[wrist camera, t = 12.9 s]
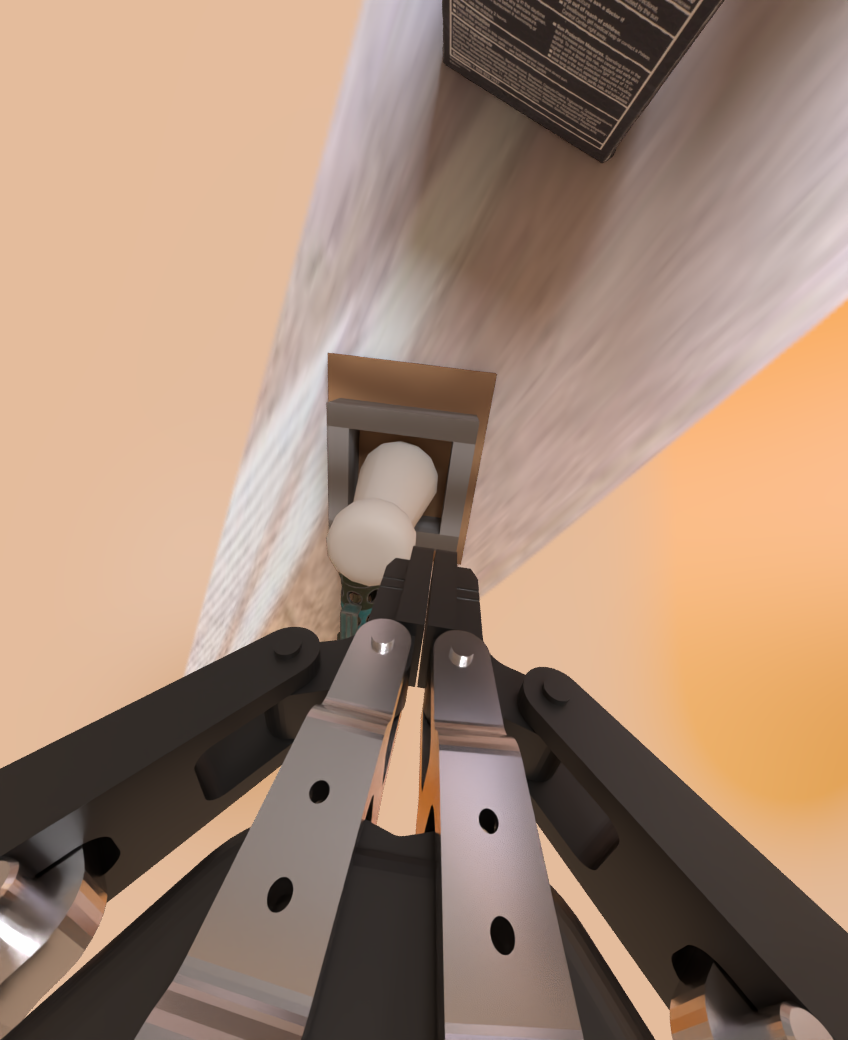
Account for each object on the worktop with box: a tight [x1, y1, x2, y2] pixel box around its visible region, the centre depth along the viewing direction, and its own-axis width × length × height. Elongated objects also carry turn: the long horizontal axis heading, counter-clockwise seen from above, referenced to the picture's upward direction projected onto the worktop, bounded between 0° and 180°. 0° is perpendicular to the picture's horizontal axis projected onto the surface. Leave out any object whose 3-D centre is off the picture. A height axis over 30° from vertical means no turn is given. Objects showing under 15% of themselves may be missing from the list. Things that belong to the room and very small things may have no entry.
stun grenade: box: [337, 572, 380, 640], centre depth 32 cm, size 6×6×14 cm
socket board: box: [327, 353, 497, 565], centre depth 26 cm, size 16×12×4 cm
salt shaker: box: [326, 441, 438, 586], centre depth 21 cm, size 6×6×13 cm
